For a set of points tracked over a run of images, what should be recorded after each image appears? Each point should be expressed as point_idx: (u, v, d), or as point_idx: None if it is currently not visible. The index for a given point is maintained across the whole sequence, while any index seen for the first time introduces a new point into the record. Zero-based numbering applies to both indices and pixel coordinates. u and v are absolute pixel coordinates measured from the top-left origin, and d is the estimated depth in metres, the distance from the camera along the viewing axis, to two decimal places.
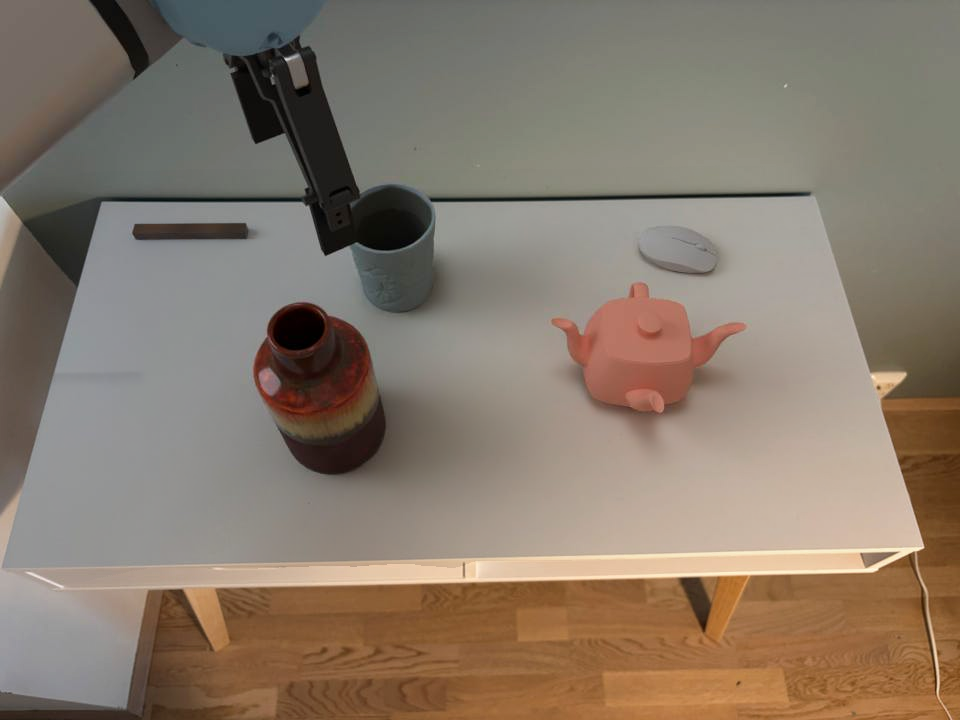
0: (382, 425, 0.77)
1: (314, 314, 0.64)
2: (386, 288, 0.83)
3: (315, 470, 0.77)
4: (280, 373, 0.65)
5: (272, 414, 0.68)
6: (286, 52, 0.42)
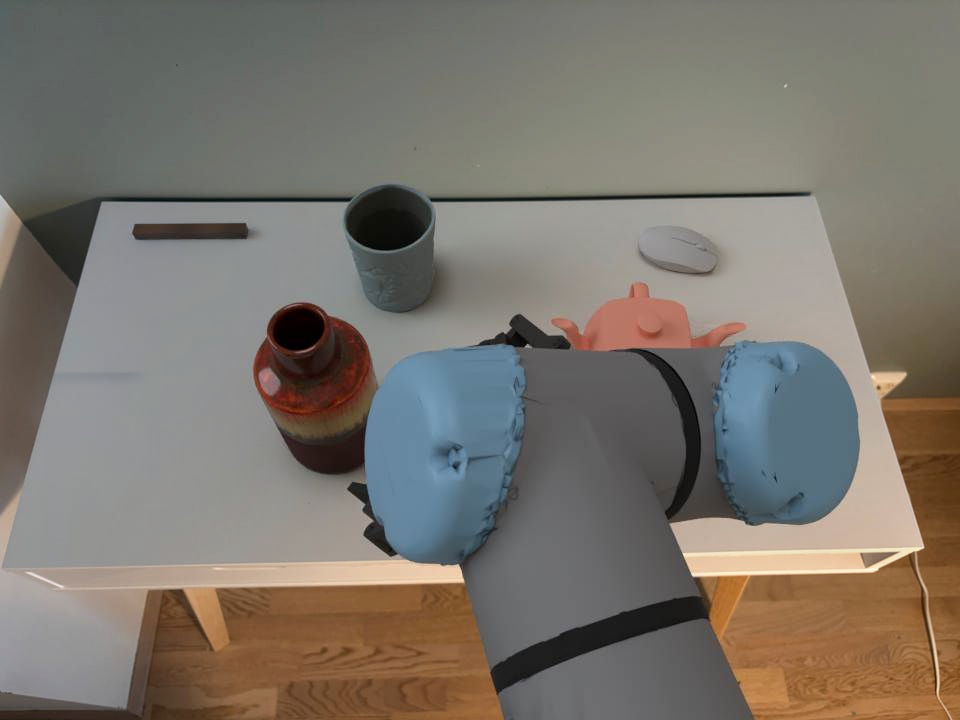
0: None
1: (314, 314, 0.64)
2: (386, 288, 0.83)
3: (315, 470, 0.77)
4: (279, 373, 0.65)
5: (272, 414, 0.68)
6: None
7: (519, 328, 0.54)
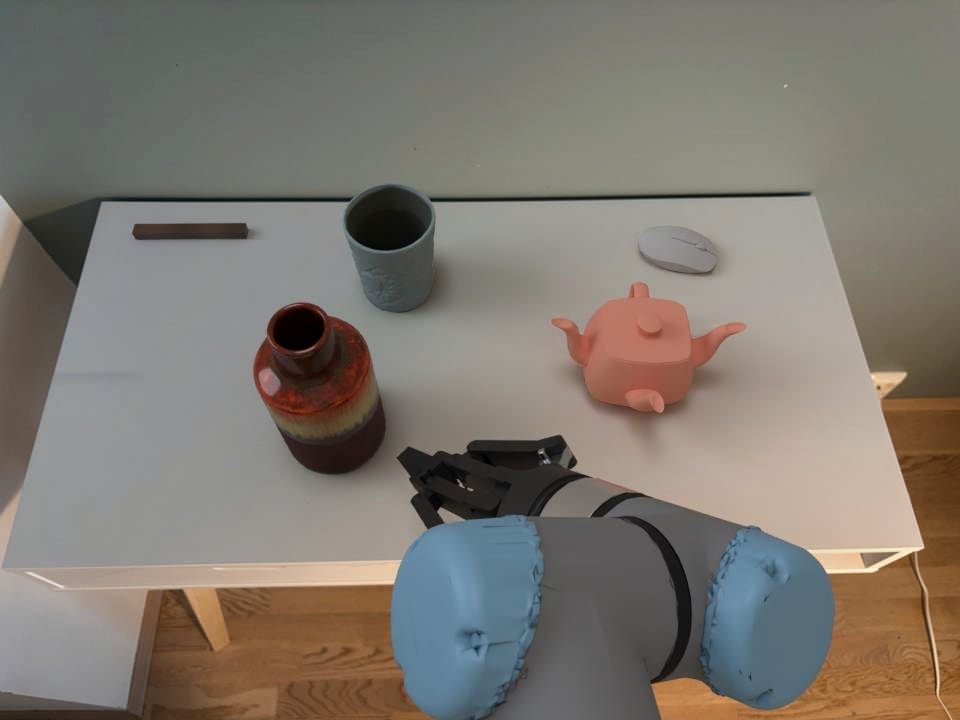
0: (382, 425, 0.77)
1: (314, 314, 0.64)
2: (386, 288, 0.83)
3: (315, 470, 0.77)
4: (279, 373, 0.65)
5: (272, 414, 0.68)
6: None
7: (487, 447, 0.57)
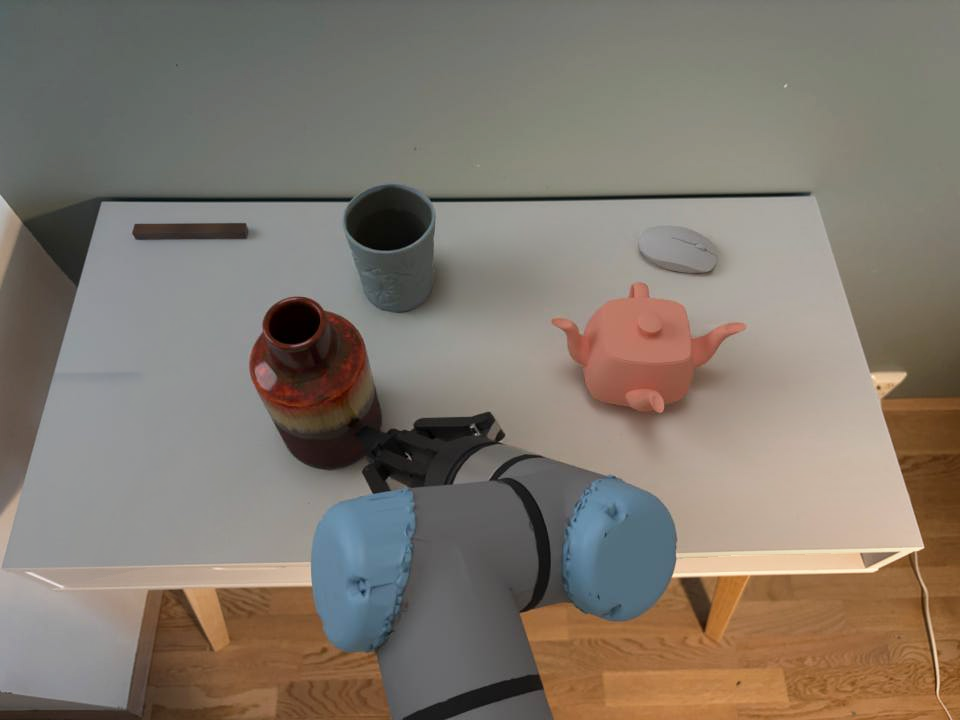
0: (378, 420, 0.77)
1: (309, 308, 0.64)
2: (386, 288, 0.83)
3: (312, 465, 0.77)
4: (275, 368, 0.65)
5: (268, 408, 0.68)
6: None
7: (430, 424, 0.65)
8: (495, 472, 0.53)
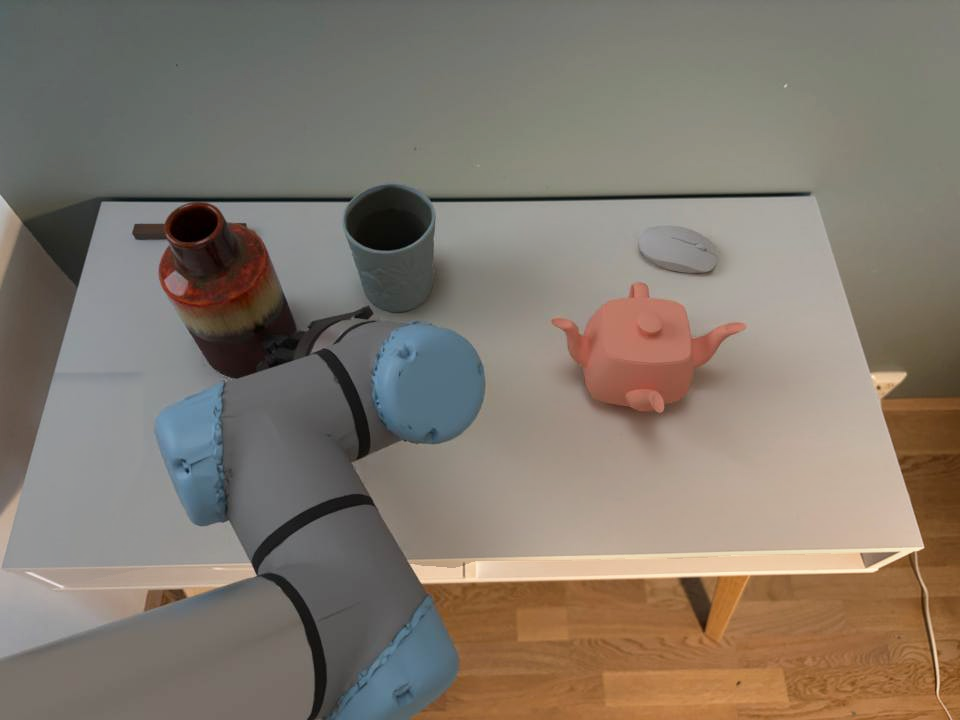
0: (290, 334, 0.83)
1: (211, 213, 0.69)
2: (386, 288, 0.83)
3: (226, 374, 0.82)
4: (179, 269, 0.71)
5: (176, 310, 0.74)
6: None
7: None
8: None
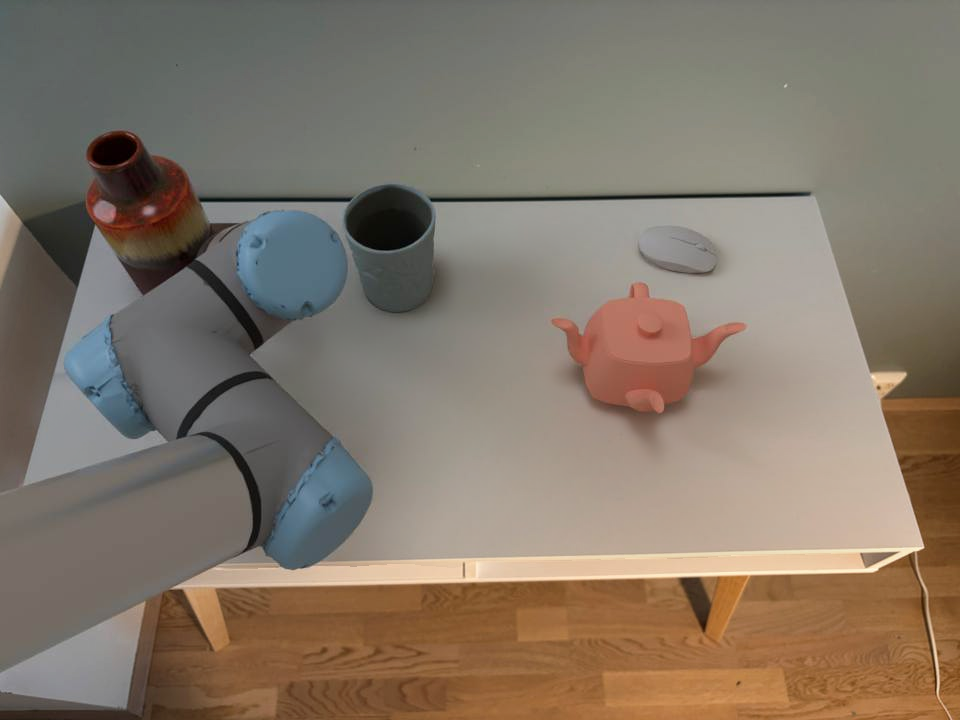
0: None
1: (132, 142, 0.74)
2: (386, 288, 0.83)
3: None
4: (104, 194, 0.75)
5: (104, 237, 0.78)
6: None
7: None
8: None
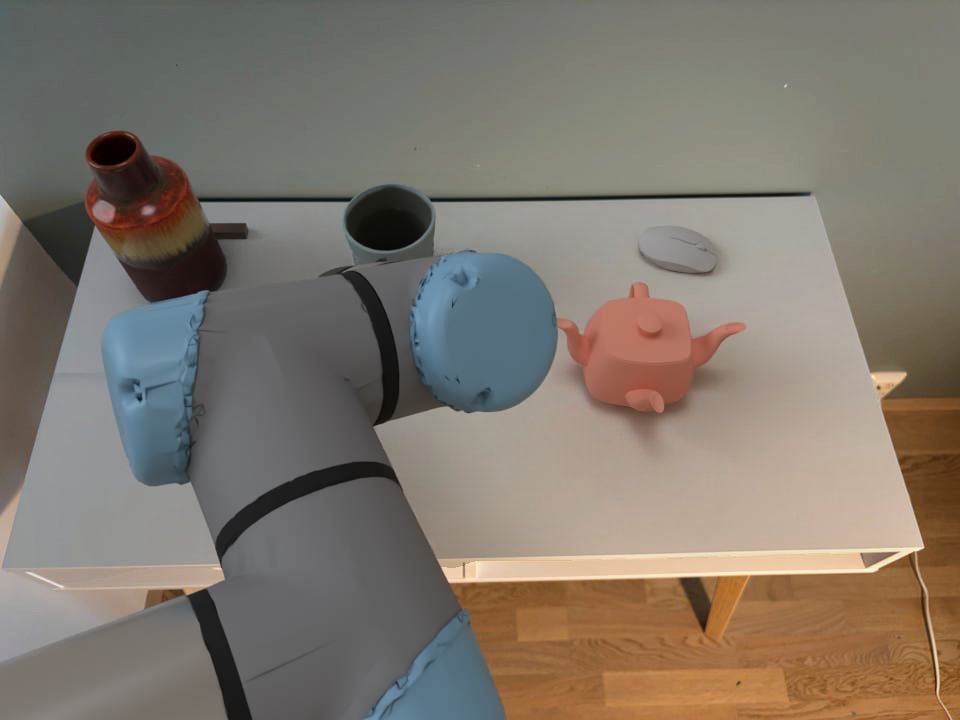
0: (218, 267, 0.87)
1: (131, 142, 0.74)
2: None
3: None
4: (103, 194, 0.75)
5: (103, 236, 0.78)
6: None
7: None
8: None
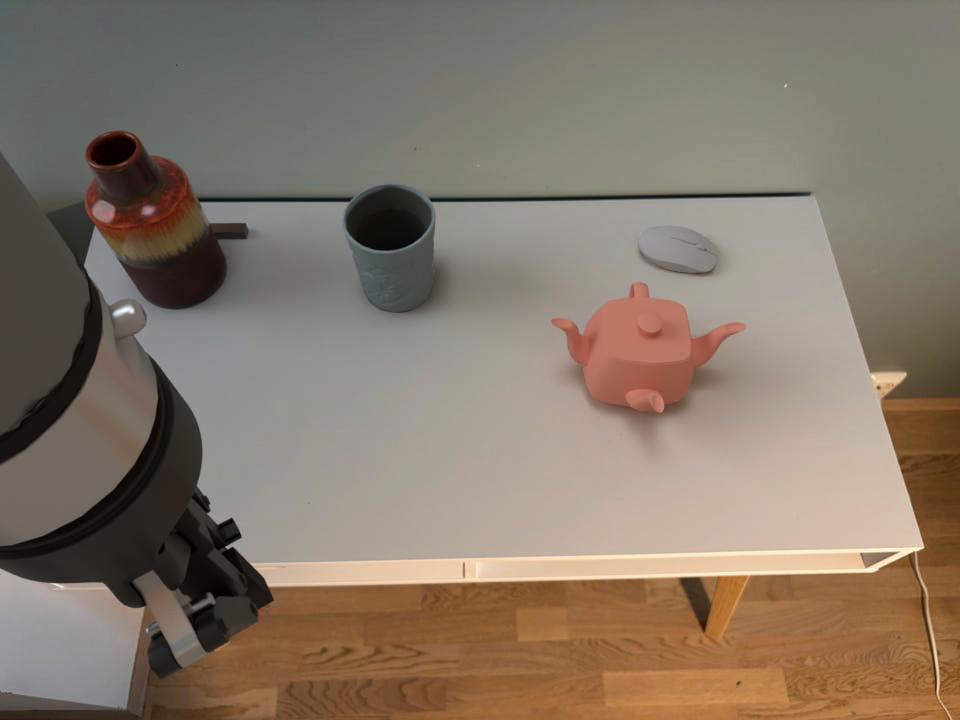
0: (218, 267, 0.87)
1: (131, 142, 0.74)
2: (386, 288, 0.83)
3: (157, 304, 0.87)
4: (103, 194, 0.75)
5: (103, 236, 0.78)
6: (179, 640, 0.25)
7: None
8: None
